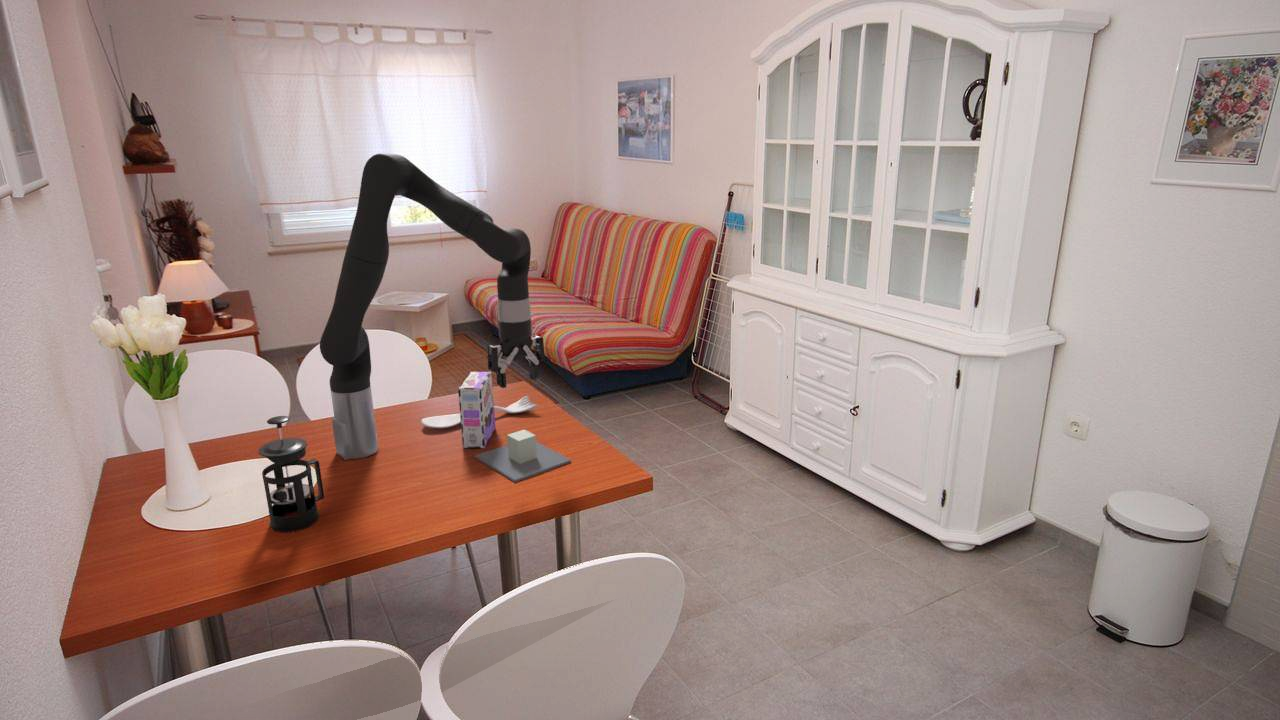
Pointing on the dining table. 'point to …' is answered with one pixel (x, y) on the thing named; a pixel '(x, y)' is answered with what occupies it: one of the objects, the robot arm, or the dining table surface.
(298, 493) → the french press
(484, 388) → the candy box
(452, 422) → the spoon
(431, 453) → the dining table surface
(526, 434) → the sage block
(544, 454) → the placemat
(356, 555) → the dining table surface
